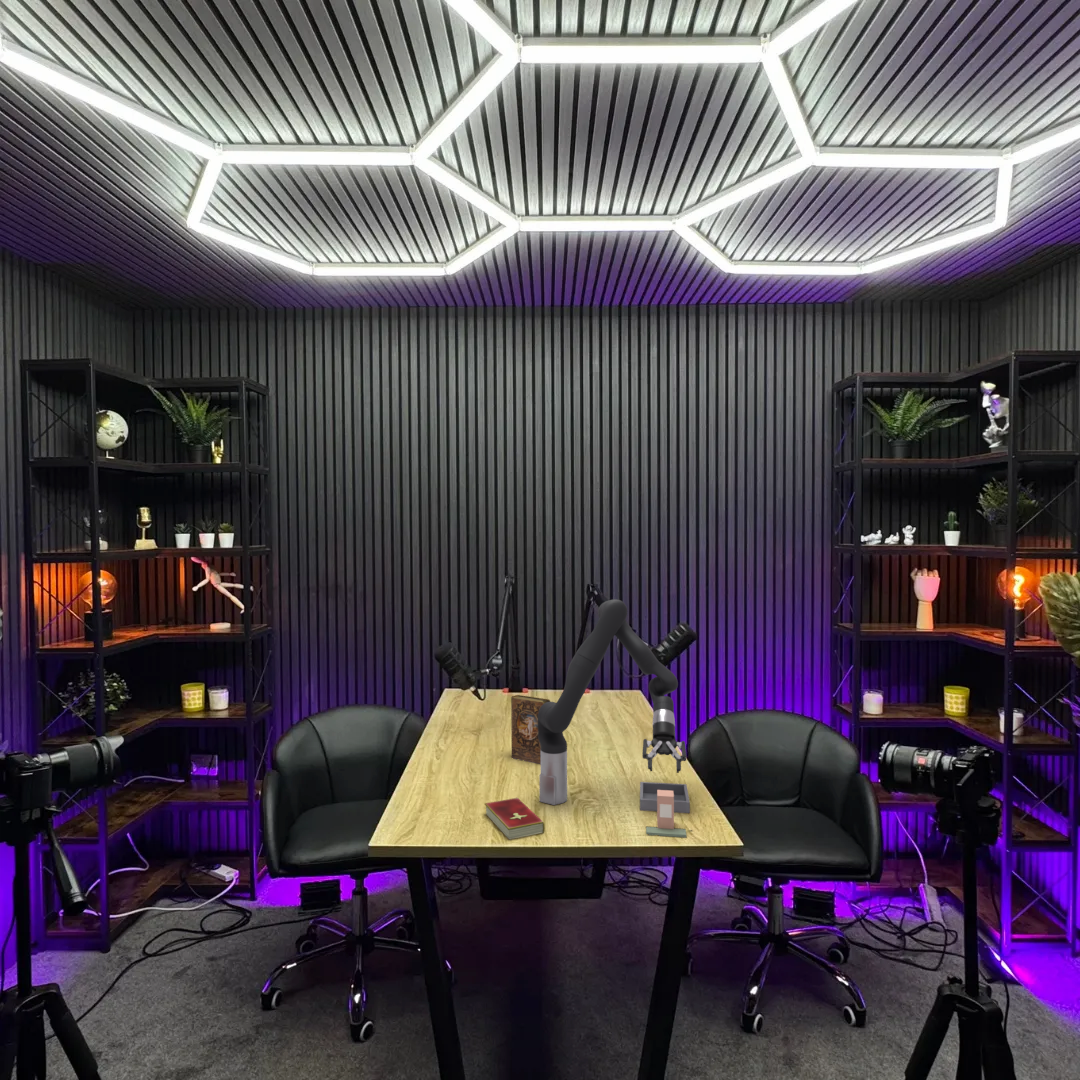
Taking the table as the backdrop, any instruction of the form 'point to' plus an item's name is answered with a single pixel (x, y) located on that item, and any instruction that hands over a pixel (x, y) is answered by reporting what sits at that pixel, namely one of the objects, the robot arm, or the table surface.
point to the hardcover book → (514, 818)
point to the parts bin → (650, 789)
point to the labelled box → (665, 809)
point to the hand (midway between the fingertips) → (664, 771)
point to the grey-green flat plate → (666, 832)
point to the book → (525, 728)
